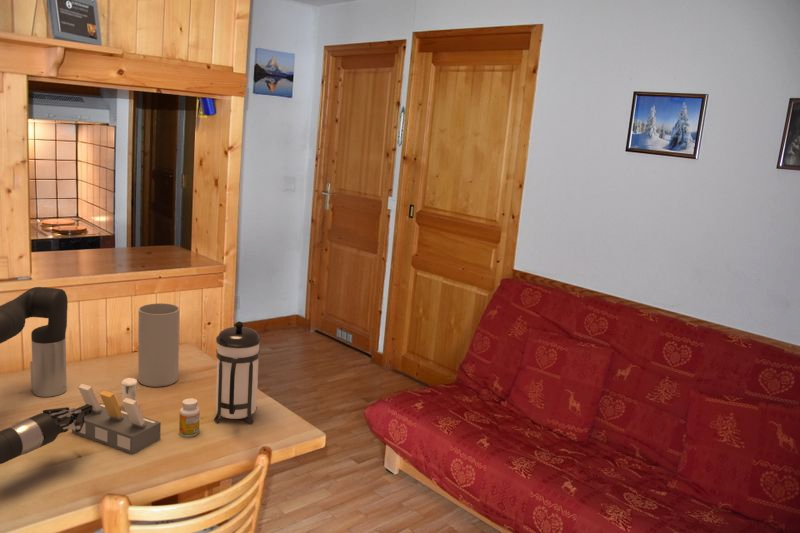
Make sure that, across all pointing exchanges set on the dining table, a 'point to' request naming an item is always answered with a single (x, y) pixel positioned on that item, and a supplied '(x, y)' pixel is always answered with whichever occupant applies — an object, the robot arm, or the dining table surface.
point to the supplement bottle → (189, 418)
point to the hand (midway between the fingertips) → (90, 408)
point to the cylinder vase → (158, 344)
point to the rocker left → (89, 397)
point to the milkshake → (129, 388)
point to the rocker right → (134, 412)
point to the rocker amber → (111, 405)
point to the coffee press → (237, 373)
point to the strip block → (119, 431)
